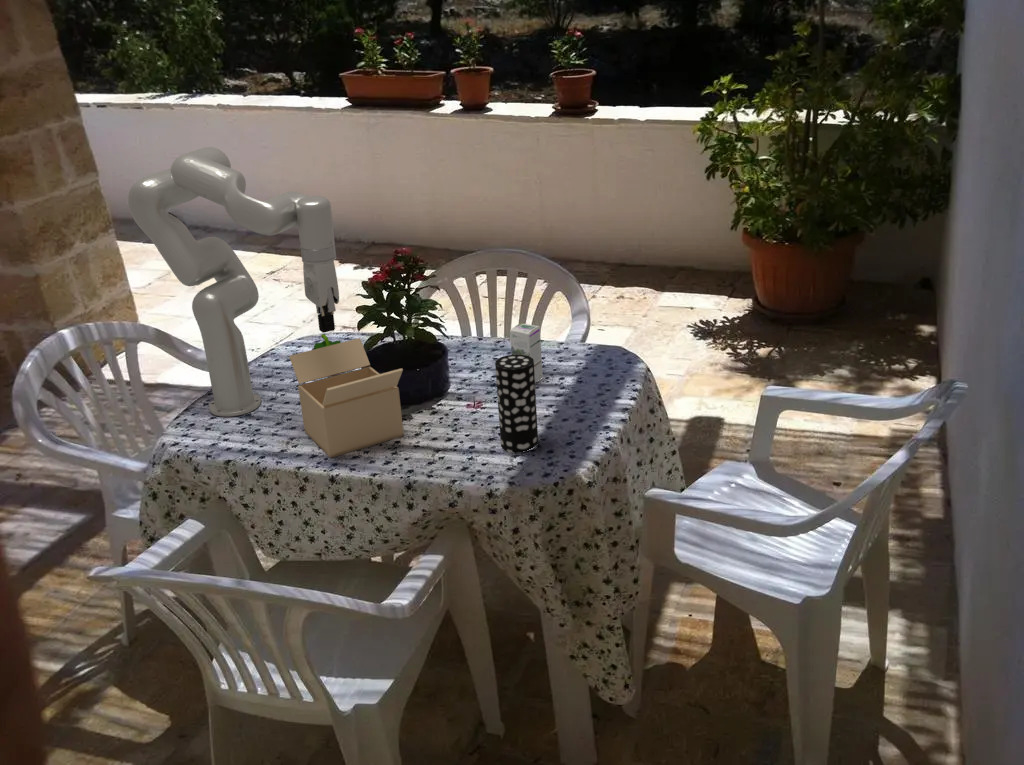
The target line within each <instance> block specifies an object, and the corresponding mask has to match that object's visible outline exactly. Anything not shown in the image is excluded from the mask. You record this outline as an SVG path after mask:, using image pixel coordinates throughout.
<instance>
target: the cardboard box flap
mask: <svg viewBox="0 0 1024 765" xmlns="http://www.w3.org/2000/svg"><path fill="white" fill-rule="evenodd" d="M403 371H404V369H403V367H402V368H398V369H393V370H390V371H387V372H382V373H379V375H375V376H371V377H368V378H364V379H360V380H357V381H353V382H349V383H346V384H342V385H338V386H334V387H331V388H327V390H326V393H325V397H324V401H323V404H322V405H323V406H327V405H330V404H334V403H337V402H341V401H345V400H348V399H352V398H355V397H359V396H363V395H366V394H370V393H373V392H377V391H381V390H384V389H388V388H391V387H395V386H396V387H398V384H399V381H400V379H401V377H402V373H403Z"/></svg>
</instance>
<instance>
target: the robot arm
mask: <svg viewBox="0 0 1024 765" xmlns="http://www.w3.org/2000/svg"><path fill="white" fill-rule="evenodd" d="M246 182H247V181H246V178H245V176H244V174H243V173H242V172H241V171H239V170H236V169H233V168H232V167H231V161H230V159H229V157H228V155H226V153H224V152H223V151H222V150H221V149H219V148H216V147H213V146H207V147H202V148H199V149H196V150H192V151H189V152H186V153H183V154H181V155H179V156H178V157H176V158H175V159H174V161H173V162H172V164H171V167H170V168H168V169H165V170H162V171H157V172H155V173H152V174H149V175H146V176H143V177H142V178H140V179H138V180H136V182H134V183H133V184H132V186H131V188H130V189H129V191H128V195H127V196H128V197H127V206H128V209H129V212H130V215H131V217H132V218H133V220H134V222H135V223H136V225H137V226H138V227H139V228H140V229H141V231H142V232H143V233H144V234H145V235H146V236H147V237H148V238H149V239H150V241H151V242H152V244H153V245H154V247H155V248H156V249H157V250H158V253H159V254H160V255H161V257H162V258H163V260H164V262H166V264H167V266H168V267H169V268H170V270H171V272H172V273H173V274H174V275H175V277H176V279H177V280H178V281H179V282H180V283H181V284H182V285H184V286H187V287H195V286H198V285H202V284H203V283H206V282H207V281H210V280H212V279H214V280H215V281H216V282H214V283H212V284H209V285H208V286H205V287H204V288H202V289H201V290H199V291H198V292H197V293H196V294H195V296H194V297H193V299H192V302H191V310H192V314H193V316H194V319H195V321H196V323H197V326H198V328H199V331H200V335H201V339H202V344H203V348H204V355H205V358H206V364H207V369H208V374H209V381H210V384H211V385H210V386H211V391H212V395H213V400H212V401H211V402H209V404H208V409H209V410H208V411H209V412H210V414H212V415H214V416H217V417H222V418H223V417H225V418H227V417H237V416H241V415H245V414H248V413H250V412H253V411H255V410H256V409H258V408H259V407H260V406H261V403H262V399H261V396H260V395H259V394H258V393H254V389H253V383H252V379H251V378H252V377H251V373H250V366H249V361H248V356H247V350H246V344H245V339H244V335H243V333H242V331H241V330H240V329H239V327H238V326H237V324H236V323H235V319H237V318H238V317H240V316H242V315H243V314H245V313H247V312H249V311H250V310H252V309H253V308H255V307H256V305H257V303H258V302H259V298H260V296H259V290H258V287H257V284H256V283H255V281H254V279H253V278H252V276H251V275H250V274H249V272H248V270H247V268H246V267H245V266H244V264H243V262H242V261H241V259H240V258H239V257H238V255H237V254H236V252H235V251H234V250H233V249H234V248H232V246H231V245H229V243H227V242H226V241H225V240H223V239H221V238H219V237H217V236H207V237H204V238H201V239H199V240H196V239H195V237H194V236H193V235H192V234H191V232H190V230H189V229H188V226H186V225H185V223H183V221H181V220H180V219H179V218H177V217H176V216H175V215H172V214H171V213H169V212H168V209H171V208H175V207H177V206H179V205H180V206H181V205H182V204H185V203H187V202H190V201H193V200H195V199H196V198H199V197H201V198H204V199H206V200H209V201H210V202H212V203H216V204H217V205H220V206H222V207H224V210H225V212H226V213H227V215H228V216H229V217H230V218H231V219H232V221H233V222H234V223H236V224H237V225H238V226H240V227H242V228H245V229H247V230H249V231H251V232H253V233H256V234H258V235H263V236H270V237H272V236H276V235H279V234H280V233H282V232H285V231H287V230H289V229H293V228H295V227H297V229H298V236H299V246H300V253H301V261H302V264H303V265H302V267H303V268H302V269H303V272H302V273H303V284H304V285H303V286H304V294H305V297H306V298H307V300H309V301H310V302H311V303H312V304H314V305H315V308H316V313H317V321H318V328H319V332H321V333H322V334H323V333H328V332H332V331H335V330H336V325H335V317H334V315H335V312H336V305H338V304H339V303H340V290H339V283H338V277H337V276H338V275H337V271H336V266H335V261H336V260H337V253H336V244H335V242H336V241H335V233H334V231H335V230H334V224H333V215H332V214H333V213H332V206H331V204H332V203H331V201H330V200H329V199H328V197H325V196H321V195H311V196H310V195H307V194H303V193H301V192H297V191H286V192H283V193H281V194H278V195H275V196H273V197H271V198H268V199H266V200H260V199H257V198H254V197H251V196H249V195H248V194H245V192H246V189H247V188H246V186H247V183H246Z"/></svg>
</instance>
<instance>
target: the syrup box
mask: <svg viewBox="0 0 1024 765" xmlns="http://www.w3.org/2000/svg"><path fill="white" fill-rule="evenodd" d="M509 338H510V340H509V341H510V352H511V354H510V355H514V354H520V355H527V356H530V357H531V358H533V360H534V373H535V382H537V381H538V380H540V379H541V378H542V377H543V378H544V375H543V373H544V372H543V361H542V360H543V359H542V357H543V356H542V343H541V342H542V341H541V340H542V339H541V338H542V336H541V326H540V325H536V324H535V325H533V324H528V323H521V322H520V323H519V324H516V325H515V326H514V327H512V328H511V329H510V330H509ZM540 381H541V380H540Z"/></svg>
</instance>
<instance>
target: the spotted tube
mask: <svg viewBox="0 0 1024 765" xmlns="http://www.w3.org/2000/svg"><path fill="white" fill-rule="evenodd" d="M494 365H495V366H494V367H495V380H496V381H495V382H496V393H497V406H498V407H497V408H498V409H497V411H498V422H499V434H500V435H499V436H500V438H499V439H500V448H501V447H502V448H501V449H502V450H503V449H504V450H503V451H505V452H507V451H508V453H510V452H515V453H514V454H517V453H516V452H523V451H527V450H529V449H531V448H533V447H535V446H536V445H537V444H538V445H539V434H538V433H539V432H538V414H537V411H538V410H537V396H536V394H537V393H536V384H535V373H534V360H533V358H531V357H530V356H527V355H520V354H514V355H512V354H507V355H503V356H501V357H499V358H496V360H495V362H494Z"/></svg>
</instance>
